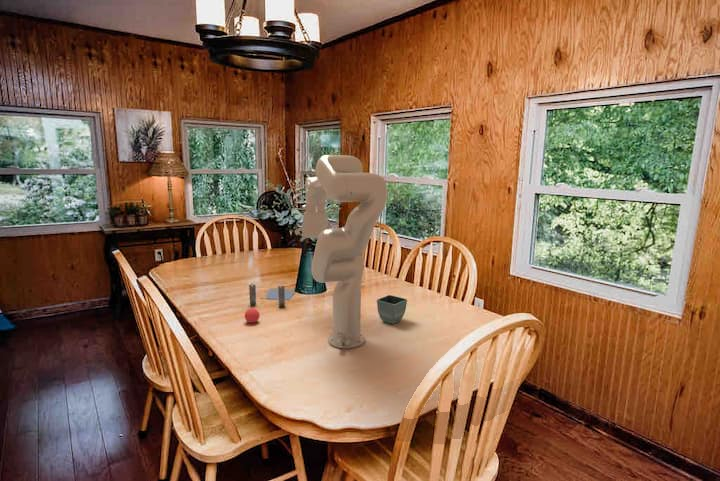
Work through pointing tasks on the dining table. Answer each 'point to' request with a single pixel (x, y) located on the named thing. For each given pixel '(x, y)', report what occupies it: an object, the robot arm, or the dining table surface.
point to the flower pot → (391, 308)
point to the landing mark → (274, 294)
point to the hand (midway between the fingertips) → (316, 251)
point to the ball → (252, 315)
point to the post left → (252, 295)
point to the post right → (281, 296)
